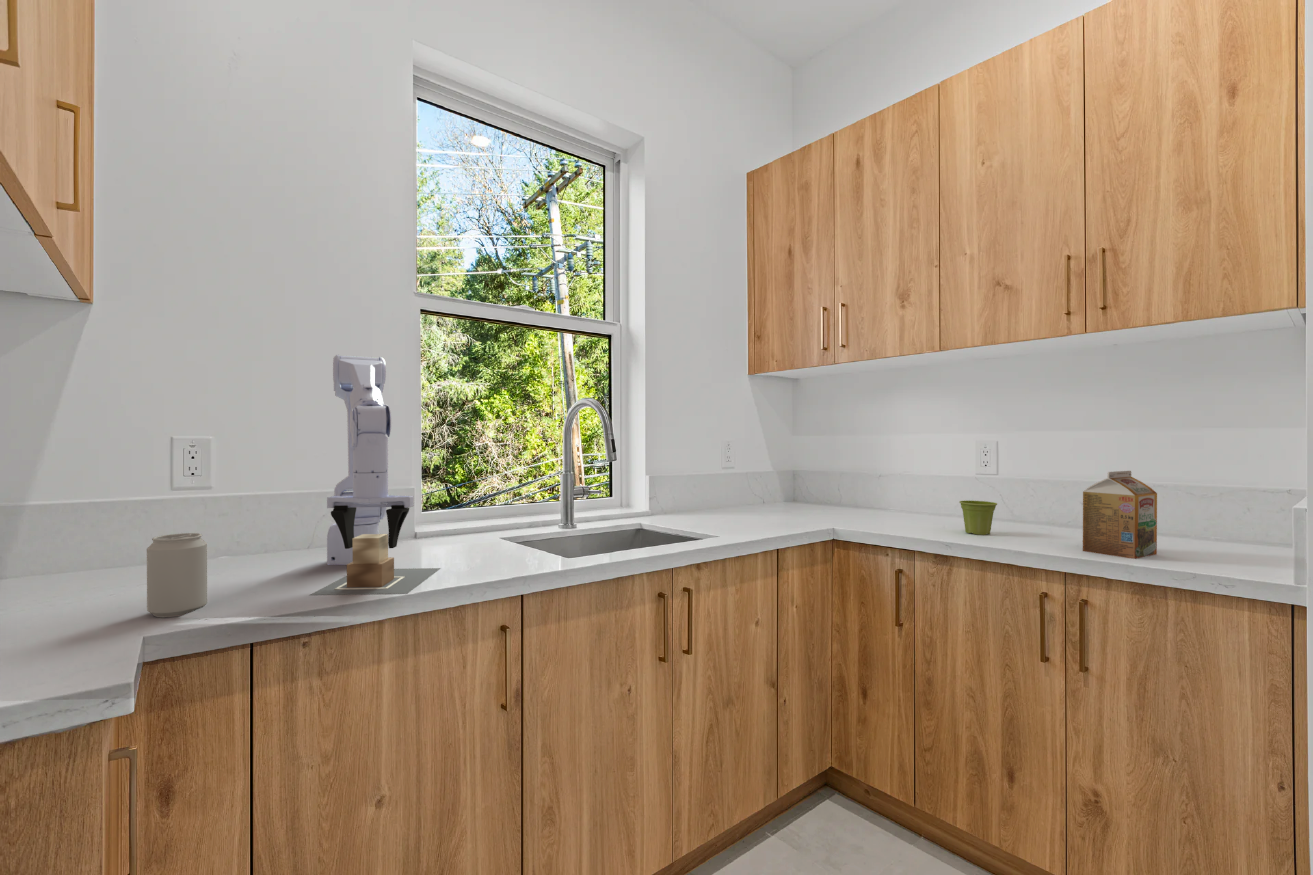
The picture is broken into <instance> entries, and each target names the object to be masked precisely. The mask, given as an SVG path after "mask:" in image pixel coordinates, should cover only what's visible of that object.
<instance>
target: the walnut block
mask: <svg viewBox="0 0 1313 875" xmlns="http://www.w3.org/2000/svg"><path fill="white" fill-rule="evenodd" d="M394 569H395V557H389V556H388V559H386V560H384V561H383V562H381V563H379V564H353V562H351V563H349V564H347V565H346V576H347V587H382V586H384V585H386V584H387V583H389V582H390V581H392V580H393V579H394Z"/></svg>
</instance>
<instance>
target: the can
mask: <svg viewBox="0 0 1313 875" xmlns="http://www.w3.org/2000/svg"><path fill="white" fill-rule="evenodd" d="M202 536H203V534H202V533H198V532H197V533H195V532H186V533H183V532H181V533H171V534H164V535H163V534H162V535H159V536H154V537H152V538H151V540H152V543H151V544H150V545H149V546H148V547H147V548H146V611H147V612H148V613H150V614H152V615H153V617H157V618H174V617H181V616H185V615H188V614H190V613H192V612H195V611H197V610H199V609H202V608H204V607H205V606H206V605H207V604H208V542H206V541H205V540H204V539H203V538H202Z"/></svg>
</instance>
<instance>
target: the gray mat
mask: <svg viewBox="0 0 1313 875" xmlns="http://www.w3.org/2000/svg"><path fill="white" fill-rule="evenodd" d="M441 569H442V568H441V567H437V568H433V567H432V568H431V567H430V568H425V567H424V568H415V567H413V568H394V579H393V580H392V581H390V582H389V583H387V584H386V585H384V586H382V587H347V575H344V577H342V578H339V579H338V580H335V581H334V582H332V583H329V584H328V585H326V586H323V587H322V588H320V589H318V590H317V591H314V592H312V593H311V594H309V596H349V595H350V596H351V595H352V596H353V595H355V596H357V595H358V596H359V595H361V596H363V595H365V596H367V595H368V596H369V595H408V594H409V593H410V592H411V591H413V590H414V589H416V588H417V587H418V586H419V585H421V584H422V583H423V582H425V581H426V580H428V579H429V578H430V577H432V576H433V575H434V574H435V573H437V572H438V571H439V570H441Z"/></svg>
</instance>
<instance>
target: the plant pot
mask: <svg viewBox="0 0 1313 875" xmlns="http://www.w3.org/2000/svg"><path fill="white" fill-rule="evenodd" d="M958 503H959V504H960V507H961V509H962V516H963V522H964V523H963V524H964V531H965V533H966V534H973V535H977V536H978V535H980V536H985V535H990V534H991V530H992V523H993V518H994V512H995V510H996V506H997V505H998V503H997V502H993V501H986V500H984V501H983V500H959V502H958Z"/></svg>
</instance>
